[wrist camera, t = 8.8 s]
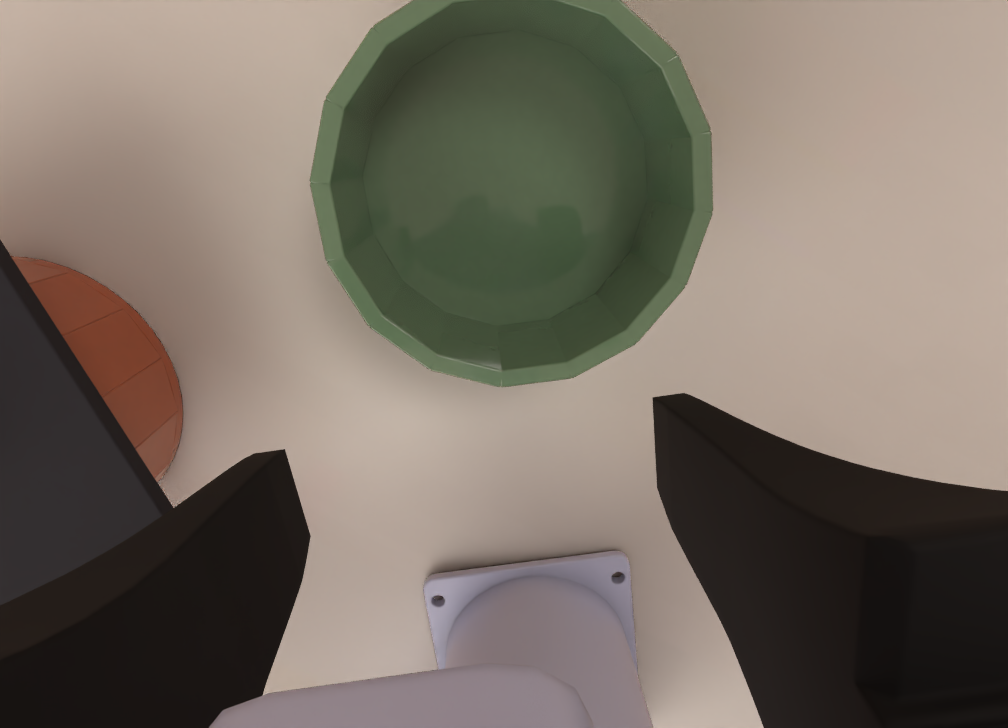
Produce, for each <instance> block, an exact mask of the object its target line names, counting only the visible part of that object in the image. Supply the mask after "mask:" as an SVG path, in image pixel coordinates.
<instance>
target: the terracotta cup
mask: <svg viewBox="0 0 1008 728" xmlns="http://www.w3.org/2000/svg"><path fill="white" fill-rule="evenodd" d="M11 257H12V259H13V260H14V262H15V263H16V265H17V266H18V268H19V270H20V271H21V273H22V274H23V276H24V277H25V279H26V280H27V282H28V283H29V285H30V287H31V288H32V290H33V291H34V293H35V294H36V296H37V297H38V299H39V300H40V302H41V304H42V305H43V307H44V308H45V310H46V311H47V313H48V314H49V316H50V317H51V319H52V321H53V322H54V324H55V325H56V327H57V328H58V330H59V331H60V333H61V334H62V336H63V338H64V339H65V341H66V342H67V344H68V345H69V347H70V348H71V350H72V352H73V353H74V355H75V356H76V358H77V359H78V361H79V362H80V364H81V365H82V367H83V369H84V370H85V372H86V373H87V375H88V376H89V378H90V379H91V381H92V382H93V384H94V386H95V387H96V389H97V390H98V392H99V393H100V395H101V396H102V398H103V399H104V401H105V403H106V404H107V406H108V407H109V409H110V410H111V412H112V413H113V415H114V417H115V418H116V420H117V421H118V423H119V424H120V426H121V427H122V429H123V430H124V432H125V434H126V435H127V437H128V438H129V440H130V441H131V443H132V444H133V446H134V447H135V449H136V451H137V452H138V454H139V455H140V457H141V458H142V460H143V461H144V463H145V464H146V466H147V468H148V469H149V471H150V472H151V474H152V475H153V477H154V478H155V480H156V482H157V483H158V481H159V480H160V479H161V478H162V477H163V475H164V474H165V473H166V471H167V469H168V467H169V466H170V464H171V462H172V461H173V458H174V456H175V453H176V450H177V448H178V445H179V440H180V436H181V431H182V419H183V409H182V396H181V392H180V387H179V383H178V379H177V376H176V373H175V370H174V368H173V365H172V362H171V360H170V358H169V356H168V354H167V353H166V351H165V349H164V347H163V345H162V343H161V342H160V340H159V339H158V338H157V336H156V335H155V333H154V332H153V330H152V329H151V328H150V326H149V325H148V324H147V323H146V322H145V321H144V320H143V318H142V317H141V316H140V315H139V314H138V313H137V312H136V311H135V310H134V309H133V308H132V307H131V306H130V305H128V304H127V303H126V302H125V301H124V300H123V299H122V298H120V297H119V296H118V295H116V294H115V293H113V292H112V291H111V290H109V289H108V288H107V287H105V286H103V285H102V284H100V283H98V282H96V281H95V280H93V279H91V278H90V277H88V276H86V275H83V274H81V273H79V272H76V271H74V270H72V269H70V268H67V267H64V266H61V265H58V264H55V263H51V262H48V261H43V260H38V259H33V258H28V257H14V256H11Z"/></svg>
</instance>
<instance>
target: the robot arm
mask: <svg viewBox="0 0 1008 728" xmlns="http://www.w3.org/2000/svg"><path fill="white" fill-rule="evenodd" d="M653 413H654V433H655V453H656V473H657V488H658V491H659V494H660V497H661V500H662V503H663V506H664V508H665V511H666V514H667V517H668V519H669V522H670V525H671V527H672V530H673V532H674V534H675V536H676V538H677V540H678V542H679V544H680V545H681V547H682V549H683V551H684V553H685V555H686V557H687V559H688V561H689V563H690V564H691V566H692V568H693V570H694V572H695V574H696V576H697V578H698V579H699V581H700V583H701V585H702V587H703V589H704V591H705V593H706V594H707V596H708V598H709V600H710V602H711V604H712V606H713V608H714V610H715V611H716V613H717V615H718V617H719V619H720V621H721V623H722V625H723V627H724V629H725V631H726V633H727V636H728V638H729V640H730V642H731V644H732V647H733V649H734V652H735V654H736V657H737V659H738V662H739V664H740V667H741V669H742V672H743V674H744V677H745V679H746V682H747V684H748V687H749V689H750V692H751V695H752V697H753V700H754V703H755V705H756V708H757V710H758V713H759V716H760V718H761V721H762V724H763V726H764V728H1008V491H1000V490H990V489H982V488H975V487H968V486H961V485H954V484H948V483H941V482H935V481H930V480H924V479H919V478H913V477H909V476H904V475H900V474H895V473H891V472H886V471H882V470H878V469H873V468H869V467H866V466H862V465H858V464H854V463H851V462H848V461H844V460H841V459H838V458H835V457H832V456H829V455H825V454H822V453H819V452H816V451H813V450H810V449H808V448H805V447H802V446H800V445H797V444H795V443H792V442H790V441H787V440H785V439H782V438H780V437H777V436H775V435H773V434H770V433H768V432H766V431H764V430H761V429H759V428H757V427H755V426H753V425H750V424H748V423H746V422H744V421H742V420H740V419H738V418H736V417H734V416H732V415H730V414H728V413H726V412H724V411H722V410H720V409H718V408H716V407H714V406H712V405H710V404H708V403H706V402H704V401H702V400H700V399H697V398H695V397H693V396H691V395H688V394H685V393H681V394H674V395H667V396H660V397H653ZM309 542H310V533H309V530H308V526H307V523H306V519H305V516H304V513H303V509H302V506H301V503H300V499H299V496H298V492H297V489H296V486H295V482H294V479H293V475H292V472H291V469H290V465H289V462H288V458H287V455H286V452H285V449H284V450H277V451H269V452H262V453H255V454H252V455H250V456H249V457H247V458H245V459H243V460H242V461H240V462H238V463H237V464H235V465H234V466H232V467H231V468H229V469H228V470H227V471H225V472H224V473H222V474H221V475H219V476H218V477H217V478H215V479H214V480H212V481H211V482H210V483H208V484H207V485H205V486H204V487H203V488H201V489H200V490H198V491H197V492H196V493H194V494H193V495H192V496H190V497H189V498H187V499H186V500H185V501H183V502H182V503H180V504H179V505H178V506H176V507H175V508H173V509H172V510H170V511H169V512H167V513H166V514H164V515H163V516H161V517H160V518H158V519H157V520H155V521H154V522H152V523H151V524H149V525H148V526H146V527H145V528H143V529H142V530H140V531H139V532H137V533H136V534H134V535H133V536H131V537H130V538H128V539H126V540H125V541H123V542H121V543H120V544H118V545H116V546H115V547H113V548H111V549H110V550H108V551H106V552H105V553H103V554H101V555H99V556H98V557H96V558H94V559H92V560H90V561H89V562H87V563H85V564H83V565H81V566H80V567H78V568H76V569H74V570H72V571H70V572H68V573H67V574H65V575H63V576H61V577H58V578H56V579H54V580H52V581H50V582H48V583H46V584H44V585H42V586H40V587H38V588H36V589H34V590H32V591H29V592H27V593H25V594H23V595H21V596H19V597H17V598H15V599H13V600H11V601H9V602H6V603H4V604H2V605H0V728H653V724H652V721H651V718H650V714H649V711H648V708H647V705H646V701H645V698H644V695H643V692H642V688H641V685H640V682H639V678H638V669H637V655H636V642H635V628H634V615H633V601H632V588H631V574H630V564H629V561H628V558H627V556H626V554H625V553H623V552H621V551H607V552H599V553H592V554H584V555H576V556H568V557H560V558H553V559H545V560H537V561H529V562H521V563H514V564H506V565H498V566H490V567H483V568H475V569H467V570H459V571H451V572H444V573H436V574H432V575H429V576H428V577H427V578H426V579H425V581H424V589H423V592H424V597H425V602H426V607H427V612H428V618H429V623H430V628H431V633H432V638H433V644H434V649H435V654H436V659H437V665H438V670H431V671H424V672H417V673H410V674H402V675H395V676H388V677H381V678H374V679H367V680H359V681H352V682H345V683H338V684H331V685H324V686H316V687H309V688H302V689H295V690H288V691H281V692H274V693H269V694H266V695H263V691H264V688H265V685H266V682H267V679H268V676H269V673H270V671H271V668H272V665H273V662H274V659H275V657H276V654H277V651H278V648H279V645H280V643H281V640H282V637H283V634H284V632H285V629H286V626H287V623H288V620H289V618H290V615H291V612H292V609H293V606H294V603H295V600H296V597H297V594H298V592H299V588H300V585H301V582H302V578H303V574H304V569H305V564H306V559H307V553H308V547H309ZM616 572H621V573H622V574H621V575H620V576H619V577H612V575H613V574H614V573H616ZM436 595H440V596H442V597H444V598H443V599H441V600H436V599H434V598H433V597H434V596H436ZM262 695H263V696H262Z"/></svg>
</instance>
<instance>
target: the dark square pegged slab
mask: <svg viewBox="0 0 1008 728" xmlns="http://www.w3.org/2000/svg"><path fill="white" fill-rule="evenodd" d="M172 509H173V506H172V505H171V503H170V502H169V500H168V499H167V497H166V495H165V494H164V492H163V491H162V489H161V488H160V486H159V485H158V483H157V482H156V480H155V478H154V477H153V475H152V474H151V472H150V471H149V469H148V468H147V466H146V464H145V463H144V461H143V460H142V458H141V457H140V455H139V454H138V452H137V451H136V449H135V447H134V446H133V444H132V443H131V441H130V440H129V438H128V437H127V435H126V434H125V432H124V430H123V429H122V427H121V426H120V424H119V423H118V421H117V420H116V418H115V417H114V415H113V413H112V412H111V410H110V409H109V407H108V406H107V404H106V403H105V401H104V399H103V398H102V396H101V395H100V393H99V392H98V390H97V389H96V387H95V386H94V384H93V382H92V381H91V379H90V378H89V376H88V375H87V373H86V372H85V370H84V369H83V367H82V365H81V364H80V362H79V361H78V359H77V358H76V356H75V355H74V353H73V352H72V350H71V348H70V347H69V345H68V344H67V342H66V341H65V339H64V338H63V336H62V334H61V333H60V331H59V330H58V328H57V327H56V325H55V324H54V322H53V321H52V319H51V317H50V316H49V314H48V313H47V311H46V310H45V308H44V307H43V305H42V304H41V302H40V300H39V299H38V297H37V296H36V294H35V293H34V291H33V290H32V288H31V287H30V285H29V283H28V282H27V280H26V279H25V277H24V276H23V274H22V273H21V271H20V270H19V268H18V266H17V265H16V263H15V262H14V260H13V259H12V257H11V256H10V254H9V252H8V251H7V249H6V248H5V246H4V245H3V243H2V242H1V240H0V605H2V604H4V603H6V602H9V601H11V600H13V599H15V598H17V597H19V596H21V595H23V594H25V593H27V592H29V591H32V590H34V589H36V588H38V587H40V586H42V585H44V584H46V583H48V582H50V581H52V580H54V579H56V578H58V577H61V576H63V575H65V574H67V573H68V572H70V571H72V570H74V569H76V568H78V567H80V566H81V565H83V564H85V563H87V562H89V561H90V560H92V559H94V558H96V557H98V556H99V555H101V554H103V553H105V552H106V551H108V550H110V549H111V548H113V547H115V546H116V545H118V544H120V543H121V542H123V541H125V540H126V539H128V538H130V537H131V536H133V535H134V534H136V533H137V532H139V531H140V530H142V529H143V528H145V527H146V526H148V525H149V524H151V523H152V522H154V521H155V520H157V519H158V518H160V517H161V516H163V515H164V514H166V513H167V512H169V511H170V510H172Z"/></svg>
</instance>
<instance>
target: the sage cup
mask: <svg viewBox="0 0 1008 728" xmlns="http://www.w3.org/2000/svg"><path fill="white" fill-rule="evenodd" d="M373 27H374V28H373ZM373 27H372V28H371V29H370V30H369V32H368V33H367V35H366V37H365V38H364V40H363V41H362V43H361V44H360V46H359V47H358V49H357V50H356V52H355V53H354V55H353V56H352V58H351V59H350V61H349V62H348V64H347V66H346V67H345V69H344V70H343V72H342V73H341V75H340V76H339V78H338V79H337V81H336V82H335V84H334V85H333V87H332V88H331V90H330V91H329V93H328V94H327V96H326V100H325V101H324V105H323V110H322V116H321V121H320V127H319V132H318V138H317V143H316V149H315V154H314V160H313V165H312V171H311V176H310V182H311V183H310V187H311V192H312V197H313V201H314V206H315V211H316V216H317V221H318V225H319V230H320V235H321V240H322V245H323V250H324V254H325V259H326V261H328V262H327V264H328V266H329V267H330V269H331V270H332V272H333V273H334V275H335V276H336V278H337V279H338V281H339V282H340V284H341V285H342V287H343V288H344V290H345V292H346V293H347V295H348V296H349V298H350V299H351V301H352V302H353V304H354V305H355V307H356V308H357V310H358V311H359V313H360V314H361V316H362V317H363V319H364V320H365V322H366V323H367V325H368V326H370V328H371V329H372V330H374V331H375V332H377V333H378V334H379V335H381V336H382V337H384V338H385V339H386V340H388V341H389V342H391V343H392V344H394V345H395V346H396V347H398V348H399V349H401V350H402V351H403V352H405V353H406V354H408V355H409V356H410V357H412V358H413V359H415V360H416V361H418V362H419V363H420V364H422V365H423V366H425V367H426V368H427V369H431V370H432V371H435V372H439V373H443V374H447V375H451V376H455V377H460V378H464V379H468V380H472V381H476V382H480V383H484V384H488V385H492V386H496V387H500V386H501V387H509V386H517V385H525V384H532V383H540V382H548V381H556V380H563V379H570V378H571V377H572V378H574V377H576V376H578V375H579V374H581V373H583V372H585V371H587V370H589V369H591V368H592V367H594V366H596V365H598V364H600V363H602V362H604V361H605V360H607V359H609V358H611V357H613V356H615V355H617V354H618V353H620V352H622V351H624V350H626V349H628V348H629V347H631V346H633V345H635V344H636V343H637V342H638V341H639V340H640V339H641V338H642V337H643V336H644V334H645V333H646V332H647V331H648V330H649V329H650V327H651V326H652V325H653V324H654V323H655V322H656V321H657V319H658V318H659V317H660V316H661V315H662V314H663V312H664V311H665V310H666V309H667V308H668V307H669V305H670V304H671V303H672V302H673V301H674V300H675V298H676V297H677V296H678V295H679V294H680V293H681V292H682V290H683V289H684V288H685V285H686V284H687V282H688V280H689V277H690V274H691V271H692V269H693V266H694V263H695V260H696V258H697V255H698V252H699V249H700V247H701V244H702V241H703V238H704V236H705V233H706V230H707V227H708V225H709V222H710V219H711V216H712V211H713V186H712V143H711V131H710V126H709V124H708V122H707V119H706V117H705V115H704V113H703V110H702V108H701V106H700V103H699V101H698V99H697V96H696V94H695V92H694V90H693V87H692V85H691V83H690V80H689V78H688V76H687V73H686V71H685V69H684V67H683V64H682V62H681V60H680V57H679V55H678V54H676V51H675V50H674V49H673V48H672V47H671V46H670V45H668V44H667V43H666V42H665V41H664V40H663V39H662V38H661V37H660V36H659V35H658V34H657V33H656V32H654V31H653V30H652V29H651V28H650V27H649V26H648V25H647V24H646V23H645V22H644V21H643V20H642V19H641V18H639V17H638V16H637V15H636V14H635V13H634V12H633V11H632V10H631V9H630V8H629V7H628V6H627V5H625V4H624V3H623V2H622V1H621V0H412V1H411V2H409V3H408V4H406V5H405V6H403V7H401V8H400V9H398V10H397V11H395V12H394V13H392V14H390V15H389V16H387V17H386V18H384V19H383V20H381V21H380V22H378V23H376V24H375V25H374V26H373Z"/></svg>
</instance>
